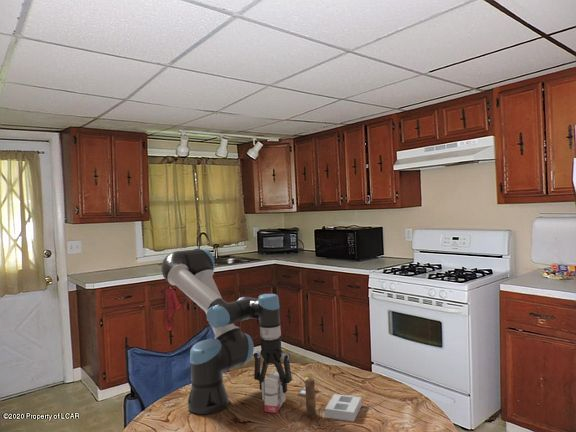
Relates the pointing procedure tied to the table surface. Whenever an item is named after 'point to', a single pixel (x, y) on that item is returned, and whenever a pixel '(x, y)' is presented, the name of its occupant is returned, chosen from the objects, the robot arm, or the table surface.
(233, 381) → the table surface
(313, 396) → the walnut peg
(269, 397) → the ink box
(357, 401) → the socket board
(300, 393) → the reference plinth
